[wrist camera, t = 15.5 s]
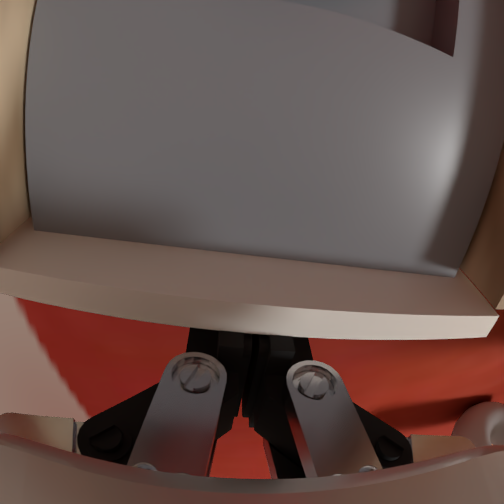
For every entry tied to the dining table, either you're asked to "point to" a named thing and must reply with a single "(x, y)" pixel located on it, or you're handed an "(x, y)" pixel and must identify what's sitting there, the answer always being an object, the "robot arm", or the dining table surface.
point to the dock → (16, 180)
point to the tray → (261, 163)
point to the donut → (482, 424)
